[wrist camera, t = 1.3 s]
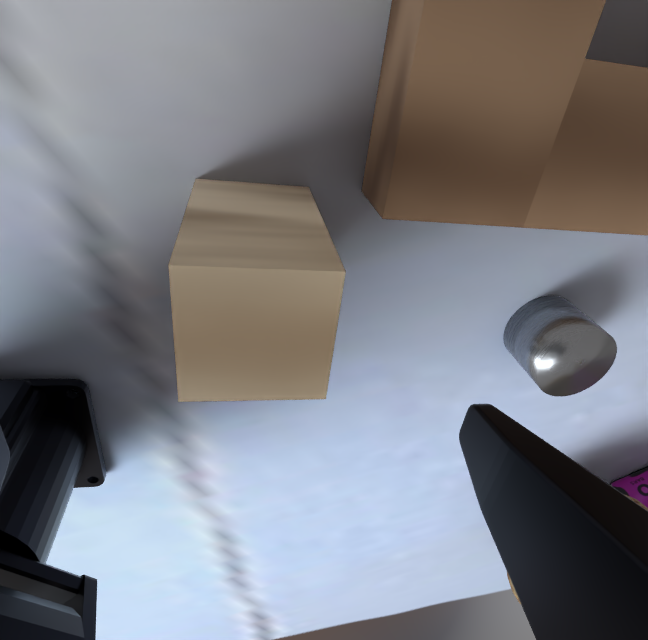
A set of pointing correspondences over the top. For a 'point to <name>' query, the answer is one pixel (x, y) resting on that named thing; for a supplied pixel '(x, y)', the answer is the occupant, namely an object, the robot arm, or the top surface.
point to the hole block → (507, 119)
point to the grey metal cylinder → (559, 345)
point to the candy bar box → (634, 486)
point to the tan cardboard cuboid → (253, 294)
